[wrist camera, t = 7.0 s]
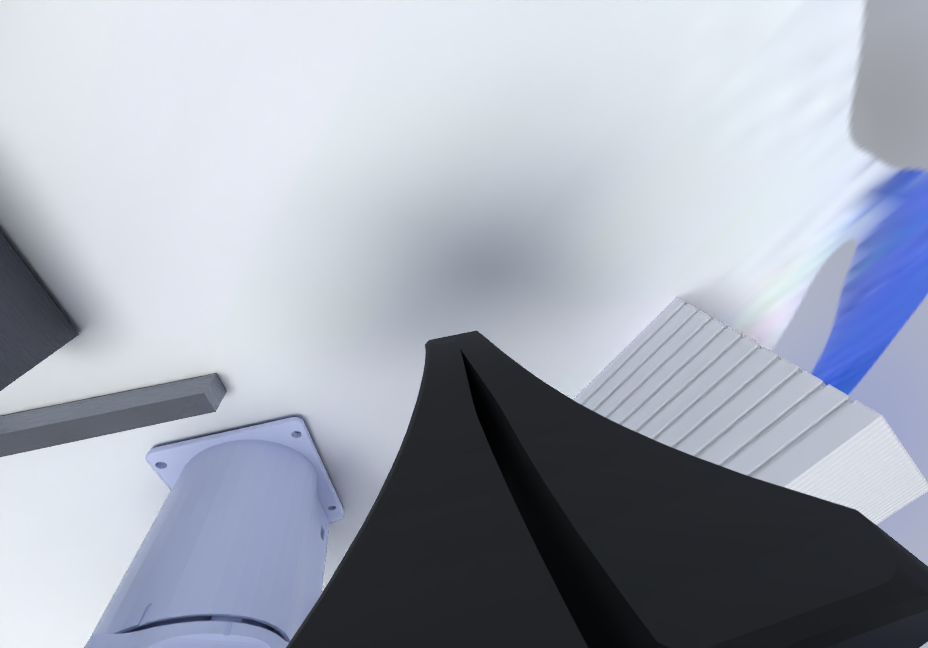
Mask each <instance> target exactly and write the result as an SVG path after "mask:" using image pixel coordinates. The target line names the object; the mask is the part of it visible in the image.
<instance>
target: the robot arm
mask: <svg viewBox="0 0 928 648" xmlns="http://www.w3.org/2000/svg"><path fill="white" fill-rule="evenodd" d="M425 348H426V358H425V366H424V372H423V377H422V381H421V386H420V390H419V394H418V398H417V402H416V405H415V408H414V411H413V414H412V417H411V420H410V423H409V426H408V429H407V432H406V434H405V437H404V440H403V442H402V445H401V447H400V450H399V452H398V454H397V457H396V459H395V461H394V463H393V466H392V468H391V470H390V472H389V474H388V476H387V478H386V481H385V483H384V485H383V487H382V489H381V491H380V493H379V495H378V497H377V499H376V501H375V503H374V505H373V507H372V509H371V510H370V512H369V514H368V516H367V518H366V520H365V522H364V523H363V525H362V527H361V529H360V530H359V532H358V534H357V535H356V537H355V539H354V541H353V542H352V544H351V546H350V547H349V549H348V551H347V552H346V554H345V556H344V558H343V559H342V561H341V563H340V564H339V566H338V568H337V569H336V571H335V573H334V575H333V576H332V578H331V580H330V581H329V583H328V584H327V586H326V588H325V589H324V591H323V592H322V584H323V575H324V566H325V557H326V548H327V539H328V530H329V523H332V522H336V521H339V520H341V519H342V518H343V517H344V509H343V507H342V505H341V502H340V500H339V498H338V496H337V494H336V491H335V489H334V487H333V485H332V483H331V481H330V478H329V476H328V474H327V472H326V470H325V467H324V465H323V463H322V461H321V459H320V456H319V454H318V452H317V450H316V448H315V445H314V443H313V441H312V439H311V437H310V434H309V432H308V430H307V428H306V426H305V424H304V422H303V420H302V419H300V418H297V417H291V418H287V419H282V420H278V421H273V422H268V423H264V424H259V425H255V426H250V427H246V428H241V429H237V430H232V431H227V432H223V433H218V434H214V435H209V436H205V437H200V438H196V439H191V440H186V441H182V442H177V443H173V444H168V445H164V446H159V447H155V448H152V449H150V450H149V451H148V453H147V454H146V456H145V459H146V461H147V462H148V463H149V464H150V466H151V467H152V468H153V469H154V470H155V472H156V473H157V474H158V475H159V476H160V478H161V479H162V480H163V481H164V482H165V484H166V485H167V486H168V487H169V488H170V490H171V492H170V494H169V496H168V497H167V499H166V501H165V503H164V505H163V506H162V508H161V510H160V512H159V514H158V515H157V517H156V519H155V521H154V523H153V525H152V526H151V528H150V530H149V532H148V534H147V535H146V537H145V539H144V541H143V543H142V544H141V546H140V548H139V550H138V552H137V554H136V555H135V557H134V559H133V561H132V563H131V564H130V566H129V568H128V570H127V572H126V573H125V575H124V577H123V579H122V581H121V583H120V584H119V586H118V588H117V590H116V592H115V593H114V595H113V597H112V599H111V601H110V602H109V604H108V606H107V608H106V610H105V612H104V613H103V615H102V617H101V619H100V621H99V622H98V624H97V626H96V628H95V630H94V631H93V633H92V635H91V637H90V639H89V641H88V642H87V644H86V645H85V647H84V648H919V647H921V646H922V645H923V644H925V643H926V642H928V566H927V565H925V564H924V563H923V562H921V561H920V560H919V559H918V558H917V557H915V556H914V555H913V554H912V553H910V552H909V551H908V550H906V549H905V548H904V547H903V546H902V545H900V544H899V543H898V542H897V541H895V540H894V539H893V538H892V537H890V536H889V535H888V534H887V533H885V532H884V531H883V530H881V529H880V528H879V527H878V526H877V525H875V524H874V523H873V522H872V521H870V520H869V519H868V518H867V517H865V516H864V515H863V514H861V513H860V512H859V511H857V510H856V509H852V508H849V507H846V506H843V505H840V504H836V503H833V502H830V501H827V500H824V499H820V498H817V497H814V496H811V495H807V494H804V493H801V492H798V491H795V490H791V489H788V488H785V487H782V486H779V485H775V484H772V483H769V482H766V481H763V480H759V479H756V478H753V477H750V476H747V475H744V474H741V473H739V472H736V471H733V470H731V469H728V468H725V467H722V466H720V465H717V464H714V463H711V462H709V461H706V460H703V459H700V458H698V457H695V456H692V455H690V454H687V453H685V452H682V451H680V450H677V449H675V448H672V447H670V446H667V445H665V444H662V443H660V442H658V441H656V440H653V439H651V438H649V437H647V436H644V435H642V434H640V433H638V432H635V431H633V430H631V429H628V428H626V427H624V426H622V425H620V424H618V423H616V422H614V421H612V420H610V419H608V418H606V417H604V416H602V415H600V414H598V413H596V412H594V411H592V410H590V409H589V408H587V407H585V406H583V405H581V404H579V403H577V402H576V401H574V400H572V399H570V398H569V397H567V396H565V395H564V394H562V393H560V392H559V391H557V390H556V389H554V388H552V387H551V386H549V385H548V384H546V383H545V382H543V381H542V380H540V379H539V378H537V377H536V376H534V375H533V374H532V373H530V372H529V371H528V370H526V369H525V368H523V367H522V366H521V365H519V364H518V363H517V362H515V361H514V360H513V359H511V358H510V357H509V356H507V355H506V354H505V353H504V352H502V351H501V350H500V349H499V348H497V347H496V346H495V345H494V344H493V343H491V342H490V341H489V340H488V339H487V338H485V337H484V336H483V335H482V334H481V333H479V332H478V331H472V332H467V333H462V334H458V335H453V336H448V337H443V338H438V339H433V340H429V341H428V342H427V343H426V344H425ZM294 431H298V432H300V433H296V432H294ZM321 593H322V594H321Z"/></svg>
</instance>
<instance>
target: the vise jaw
mask: <svg viewBox="0 0 928 648" xmlns="http://www.w3.org/2000/svg"><path fill="white" fill-rule="evenodd" d="M78 335H79V334H78V332H77V331H76V330H75V328H74V327H73V326H72V325H71V323H70V322H69V321H68V319H67V318H66V317H65V315H64V314H63V313H62V312H61V310H60V309H59V308H58V306H57V305H56V304H55V302H54V301H53V300H52V299H51V297H50V296H49V295H48V293H47V292H46V291H45V289H44V288H43V287H42V286H41V284H40V283H39V282H38V280H37V279H36V278H35V276H34V275H33V274H32V273H31V271H30V270H29V269H28V267H27V266H26V265H25V263H24V262H23V261H22V260H21V258H20V257H19V256H18V254H17V253H16V252H15V251H14V249H13V248H12V247H11V245H10V244H9V243H8V241H7V240H6V239H5V238H4V236H3V235H2V234H1V232H0V391H1V390H2V389H4V388H5V387H7V386H8V385H9V384H11V383H12V382H13V381H15V380H16V379H18V378H19V377H20V376H22V375H23V374H25V373H26V372H27V371H29V370H30V369H32V368H33V367H34V366H36V365H37V364H39V363H40V362H41V361H43V360H44V359H46V358H47V357H48V356H50V355H51V354H53V353H54V352H55V351H57V350H58V349H59V348H61V347H62V346H64V345H65V344H66V343H68V342H69V341H71V340H72V339H73V338H75V337H76V336H78Z"/></svg>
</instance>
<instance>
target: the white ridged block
mask: <svg viewBox="0 0 928 648" xmlns="http://www.w3.org/2000/svg"><path fill="white" fill-rule="evenodd" d="M574 401H576V402H577V403H579V404H581V405H583V406H585V407H587V408H589V409H590V410H592V411H594V412H596V413H598V414H600V415H602V416H604V417H606V418H608V419H610V420H612V421H614V422H616V423H618V424H620V425H622V426H624V427H626V428H628V429H631V430H633V431H635V432H638V433H640V434H642V435H644V436H647V437H649V438H651V439H653V440H656V441H658V442H660V443H662V444H665V445H667V446H670V447H672V448H675V449H677V450H680V451H682V452H685V453H687V454H690V455H692V456H695V457H698V458H700V459H703V460H706V461H709V462H711V463H714V464H717V465H720V466H722V467H725V468H728V469H731V470H733V471H736V472H739V473H741V474H744V475H747V476H750V477H753V478H756V479H759V480H763V481H766V482H769V483H772V484H775V485H779V486H782V487H785V488H788V489H791V490H795V491H798V492H801V493H804V494H807V495H811V496H814V497H817V498H820V499H824V500H827V501H830V502H833V503H836V504H840V505H843V506H846V507H849V508H852V509H856V510H857V511H859V512H860V513H861V514H863V515H864V516H865V517H867V518H868V519H869V520H870V521H872V522H873V523H874V524H875V525H876V524H878V523H879V522H881V521H883V520H884V519H886V518H887V517H889V516H890V515H892V514H893V513H894V512H896V511H898V510H900V509H901V508H902V507H904V506H906V505H907V504H909V503H910V502H912V501H913V500H915V499H916V498H918V497H920V496H921V495H922V494H924V493H926V492H927V491H928V482H927V481H926V480H925V478H924V476H923V475H922V473H921V472H920V471H919V469H918V468H917V466H916V465H915V463H914V462H913V460H912V459H911V457H910V456H909V454H908V453H907V451H906V450H905V448H904V447H903V445H902V444H901V442H900V441H899V439H898V438H897V436H896V435H895V433H894V432H893V430H892V429H891V427H890V426H889V424H888V423H887V422H886V420H885V419H884V417H883V416H882V415H881V414H879V413H878V412H876V411H874V410H872V409H871V408H869V407H867V406H865V405H864V404H862V403H860V402H859V401H856V400H855V401H854V402H853V401H852V400H851V399H850V397H849V396H848V395H846V394H845V393H843V392H841V391H839V390H838V389H836V388H834V387H832V386H831V385H828V386H826V385H825V384H824V382H823V381H822V380H820V379H819V378H817V377H815V376H813V375H812V374H810V373H808V372H806V371H804V372H802V371H801V370H800V368H799V367H798V366H796V365H794V364H792V363H791V362H789V361H787V360H785V359H784V358H783V359H781V358H779V356H778V355H777V354H775V353H773V352H772V351H770V350H768V349H766V348H765V347H761V346H760V345H759V344H758V343H756V342H754V341H753V340H751V339H749V338H747V337H746V336H745V337H743V336H742V334H740V333H739V332H737V331H735V330H733V329H732V328H730V327H729V328H728V327H727V326H726V325H725V324H723V323H721V322H719V321H718V320H716V319H713V318H712V317H711V316H709V315H707V314H706V313H704V312H702V311H699V310H698V309H697V308H695V307H693V306H692V305H690V304H687V303H686V302H685V301H683V300H681V299H679V298H678V297H676V298H675V299H674V300H673V301H672V302H671V303H670V304H669V305H668V306H667V307H666V308H665V309H664V310H663V311H662V312H661V313H660V314H659V315H658V316H657V317H656V318H655V319H654V320H653V321H652V322H651V323H650V324H649V325H648V326H647V327H646V328H645V329H644V330H643V331H642V332H641V333H640V334H639V335H638V336H637V337H636V338H635V339H634V340H633V341H632V342H631V343H630V344H629V345H628V346H627V347H626V348H625V349H624V350H623V351H622V352H621V353H620V354H619V355H618V356H617V357H616V358H615V359H614V360H613V361H612V362H611V363H610V364H609V365H608V366H607V367H606V368H605V369H604V370H603V371H602V372H601V373H600V374H599V375H598V376H597V377H596V378H595V379H594V380H593V381H592V382H591V383H590V384H589V385H588V386H587V387H586V388H585V389H584V390H583V391H582V392H581V393H580V394H579V395H578V396H577V397H576V398H575V399H574Z"/></svg>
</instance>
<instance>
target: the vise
mask: <svg viewBox="0 0 928 648" xmlns="http://www.w3.org/2000/svg"><path fill="white" fill-rule="evenodd" d="M225 394H226V390H225V388H224V386H223V385H222V383H221V381H220V379H219V378H218V376H217V374H211V375H206V376H201V377H196V378H191V379H186V380H181V381H176V382H171V383H166V384H161V385H156V386H150V387H145V388H140V389H135V390H130V391H125V392H120V393H115V394H110V395H105V396H100V397H95V398H90V399H85V400H80V401H75V402H70V403H65V404H60V405H54V406H49V407H44V408H39V409H34V410H29V411H24V412H19V413H14V414H9V415H4V416H0V457H3V456H8V455H13V454H17V453H22V452H27V451H32V450H36V449H41V448H46V447H51V446H55V445H60V444H65V443H69V442H74V441H79V440H84V439H88V438H93V437H98V436H103V435H107V434H112V433H117V432H121V431H126V430H131V429H136V428H140V427H145V426H150V425H155V424H159V423H164V422H169V421H173V420H178V419H183V418H188V417H192V416H197V415H202V414H207V413H211V412H216V410H217V408H218V406H219V405H220V403H221V401H222V399H223V397H224V395H225Z"/></svg>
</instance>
